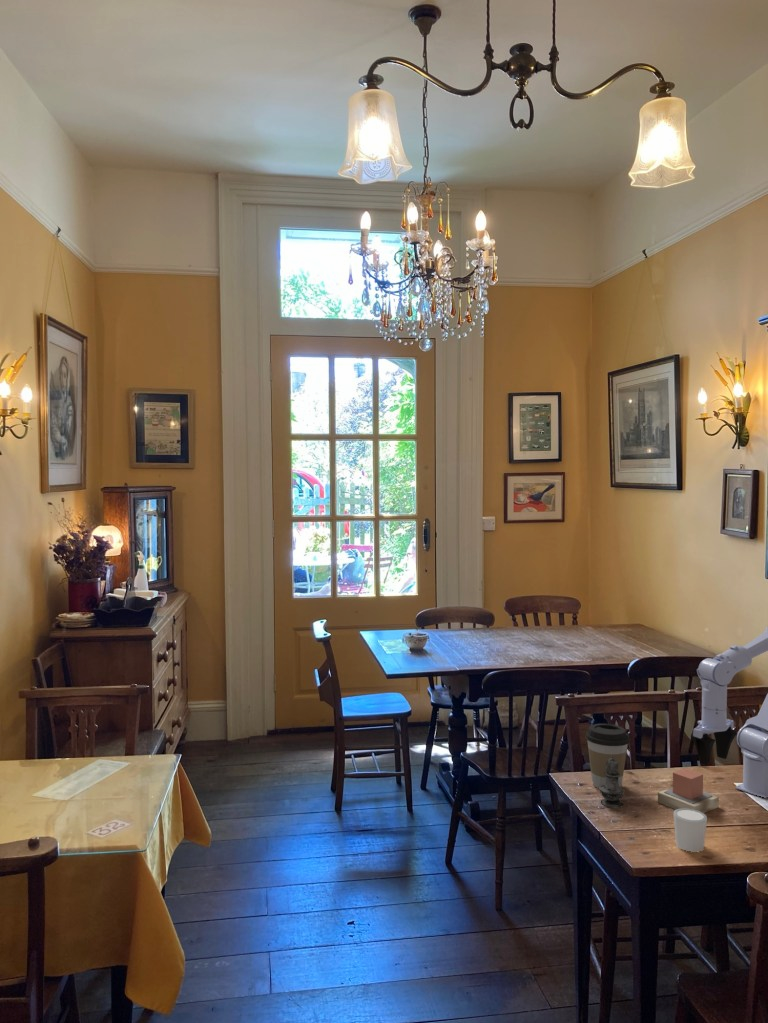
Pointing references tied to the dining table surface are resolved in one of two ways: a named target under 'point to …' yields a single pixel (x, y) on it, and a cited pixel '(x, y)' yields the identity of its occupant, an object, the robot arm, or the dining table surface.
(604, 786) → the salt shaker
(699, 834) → the shot glass
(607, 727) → the coffee cup
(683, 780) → the block
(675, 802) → the base
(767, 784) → the robot arm
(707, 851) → the dining table surface
